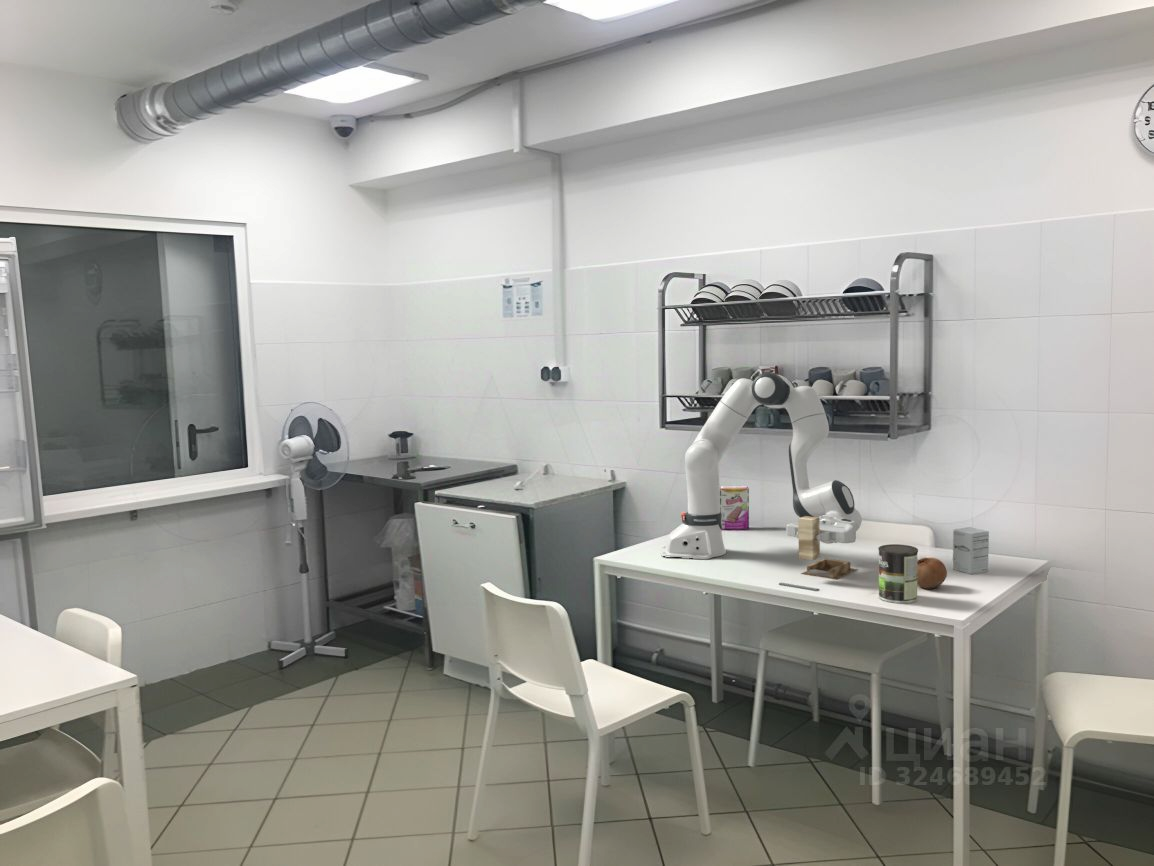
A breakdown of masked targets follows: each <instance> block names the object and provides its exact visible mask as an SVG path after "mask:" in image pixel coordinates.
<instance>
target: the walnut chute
mask: <svg viewBox="0 0 1154 866" xmlns="http://www.w3.org/2000/svg"><path fill="white" fill-rule="evenodd" d="M858 570H859V568H853V567H851V561H846V560H840V559H832V558H826V557H825V558H822V559H820V560H818V561H815V562H813V563H811V564H808V565H806V571H803V572H800V575H804V576H805V575H806V576H810V577H811V576H812V577H817V578H825V579H830V580H831V579H832V580H839V579H842V578H844V577H846V576H847V575H850V574H852V573H854V572H856V571H858Z"/></svg>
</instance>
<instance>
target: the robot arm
mask: <svg viewBox="0 0 1154 866" xmlns="http://www.w3.org/2000/svg"><path fill="white" fill-rule="evenodd" d="M759 406H765V407H767V408H770V409H775V410H785V409H786V411H787V413H788V415H789V418H790V422H791V427H792V439H791V442H790V444H789V445H788V460H789V469H790V476H791V485H792V486H791V487H792V507H793V510H794V511H793V512H794V513H795V514H796V516H797V517H799V518H801V517H804V516H810V517H819V523H820V534H815V540H816V541H820V543H823V544H826V545H827V544H829V545H830V544H837V543H840V544H850V543H852V544H854V543H855V542H856V538H857V532H858V531H859V529H860V528H861V525H862V522H863V521H862V519H863V518H862V515H861V513H860V512H859V511H858V510H857V509H856V508H855V500H854V496H853V493H852V491H851V489H850V487H848V485H846V484H845V483H844V482H842V481H840V480H837V479H835V480H834V479H833V480H832V481H828V482H825V483H822V484H820V485H817V486H813V487H811V488H810V483H809V476H808V468H807V466H808V465H807V463H808V460H809V457H810V456H811V455H812V454H813V453H814V452H815V451H816V450H817V449H818V448H820V446H821V445H822V444H823V443H824V442H825V441H826V439H827V438H828V436H829V433H830V426H829V421H828V418H827V414H826V411H825V408H824V406H823V403H822V400H821V399H820V397H819V394H818V393H817V390H816V389H814V387H812V386H809V385H801V386H797V387H796V386H795V384H794V382H792V381H791V380H790V379H789V378H787V377H785V376H783V375H782V374H776V373H775V372H763V373H760V374H759V375H757V376H756V377H755V378H754V380H751V379H750V378H743V377H742V378H738V379H737V380H736V381H734V382H733V383H732V385H731V386H730V387H729V388H728V390H727V391H726V392H725V393H724V394H723V396H721V398H720V400H719V402H718V403H717V404H716V406H715V407H714V409H713V411H712V412H711V414H710V415H709V417H708V418H707V420H706V421H705V423H704V425H703V426H702V428H701V429H700V430H699V433H698V434H697V436H696V437H695V439H694V441H692V443H691V444H690V446H689V448H687V450H686V452H685V454H684V466H685V467H684V468H685V480H686V481H685V483H686V489H687V490H686V491H687V492H686V493H687V494H686V495H687V512H686V511H682V512H681V513H680V517H681V521H682V523H681V524H680V525H678V527H676V528H674V529H673V530H672V531H671V532H670V533H669V534H668V536H667V538H666V542H665V546H663V547H661V548H660V551H659V554H660V553H661V554H662V555H663V556H670V557H682V558H681V559H689V558H693V560H709V559H711V558H716V557H721V556H724V555H726V553H727V551H726V549H725V543H724V539H723V530H721V528H722V514H721V512H720V477H719V462H720V460H721V459H722V458H723V456H724V455H725V453H726V451H728V449H729V447H730V446H731V445H732V443H733V441H734V440H735V439H736V437H737V436H738V434H739V433H740V431H741V429H742V428H743V427H744V425H745V423H746V422H747V421H748V420H749V417H750V416H751V414H752V413H753V411H754V410H755V409H756V408H757V407H759ZM785 527H786V529H785V531H786V535H787V536H788V537H794V538H796V539H799V533H798V521H795V522H791V523H787V524H786V526H785ZM663 556H662V557H663Z"/></svg>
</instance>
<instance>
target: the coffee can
mask: <svg viewBox="0 0 1154 866" xmlns="http://www.w3.org/2000/svg"><path fill="white" fill-rule="evenodd" d="M918 553H919V548H917V547H915V546H912V545H908V544H898V543H897V544H896V543H895V544H890V543H889V544H884V545H883V544H882V545H881V546H878V599H879V600H881V601H883V600H884V602H886V601H887V602H888V603H893V604H911V602H912V603H915V602H916V601H918V585H917V560H918V555H919V554H918Z"/></svg>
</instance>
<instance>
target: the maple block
mask: <svg viewBox="0 0 1154 866" xmlns="http://www.w3.org/2000/svg"><path fill="white" fill-rule="evenodd" d="M797 522H798V533H799V538H798V559H801V560H808V561H809V560H810V561H815V560H818V559H819V558H820V557H821V550H820V549H821V541H816V540H815V534H820V523H819V517H810V516H804V517H801V518H800V517H799V518H798V520H797Z"/></svg>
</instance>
